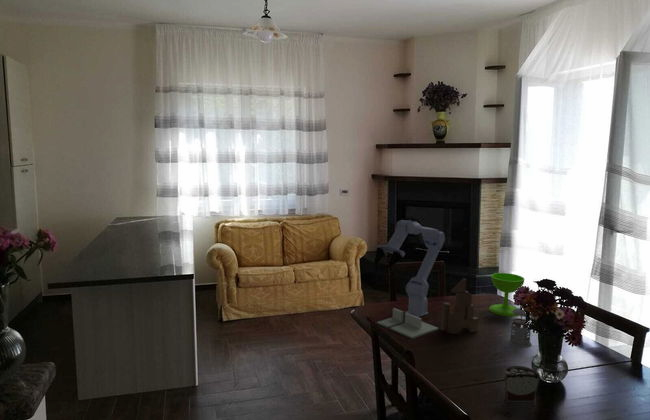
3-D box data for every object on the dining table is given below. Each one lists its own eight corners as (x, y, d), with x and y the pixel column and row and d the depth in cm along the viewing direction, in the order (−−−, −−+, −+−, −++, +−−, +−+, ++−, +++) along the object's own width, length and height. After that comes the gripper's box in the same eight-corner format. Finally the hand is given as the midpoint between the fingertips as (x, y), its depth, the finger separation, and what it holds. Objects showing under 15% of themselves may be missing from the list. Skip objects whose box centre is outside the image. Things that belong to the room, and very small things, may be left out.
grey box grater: (506, 344, 206) (510, 288, 203) (509, 335, 216) (513, 281, 213) (531, 349, 202) (535, 292, 198) (533, 339, 212) (538, 285, 208)
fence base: (394, 317, 233) (394, 307, 232) (405, 322, 227) (406, 312, 226) (392, 318, 232) (392, 308, 231) (404, 323, 226) (404, 312, 225)
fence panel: (404, 322, 226) (405, 313, 225) (406, 322, 227) (406, 312, 226) (419, 328, 219) (420, 319, 218) (421, 327, 220) (421, 318, 219)
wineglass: (482, 307, 253) (484, 274, 251) (507, 304, 258) (510, 272, 256) (502, 317, 238) (504, 282, 236) (528, 314, 243) (531, 280, 240)
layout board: (402, 315, 238) (403, 314, 238) (438, 329, 221) (438, 327, 221) (376, 323, 227) (377, 321, 227) (412, 338, 210) (412, 337, 210)
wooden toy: (469, 326, 226) (473, 274, 222) (477, 331, 219) (481, 279, 216) (439, 328, 222) (442, 276, 219) (446, 334, 216) (450, 280, 212)
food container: (530, 392, 167) (532, 365, 165) (538, 401, 160) (541, 373, 159) (495, 392, 166) (497, 364, 165) (502, 401, 160) (504, 373, 159)
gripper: (380, 233, 226) (366, 256, 221) (405, 239, 216) (391, 263, 211) (386, 242, 230) (372, 265, 225) (411, 248, 220) (397, 272, 215)
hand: (382, 265), depth 218 cm, fingers open, 7 cm apart
